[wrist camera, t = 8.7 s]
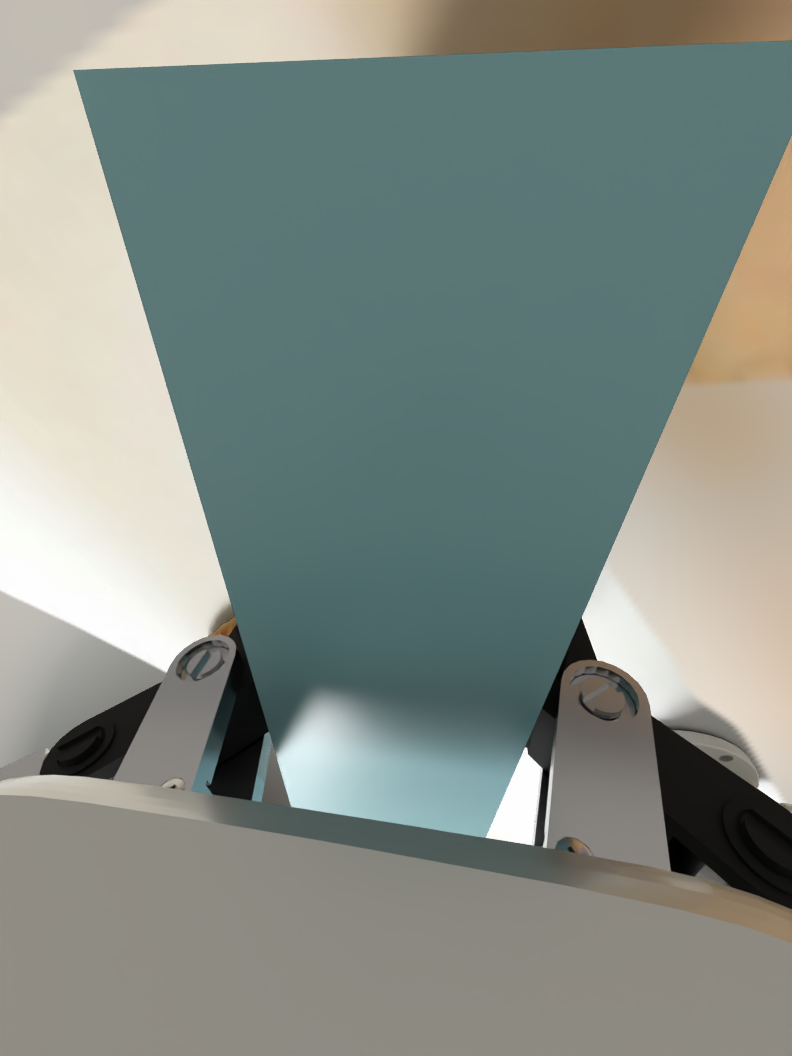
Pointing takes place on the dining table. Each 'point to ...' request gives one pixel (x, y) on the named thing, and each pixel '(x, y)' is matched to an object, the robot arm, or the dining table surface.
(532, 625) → the pale blue rectangular prism
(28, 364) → the dining table surface
